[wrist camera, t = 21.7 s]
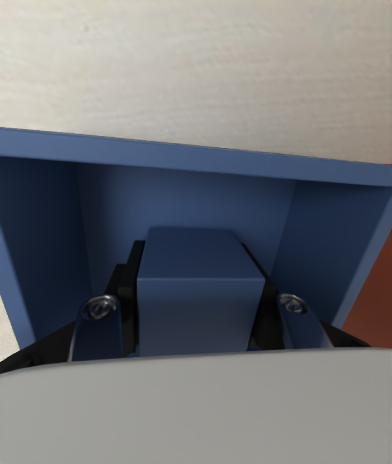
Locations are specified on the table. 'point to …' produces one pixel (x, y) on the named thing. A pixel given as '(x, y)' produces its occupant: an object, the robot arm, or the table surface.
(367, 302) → the terracotta bin
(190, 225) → the slate bin
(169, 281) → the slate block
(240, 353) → the robot arm
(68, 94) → the table surface
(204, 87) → the table surface
